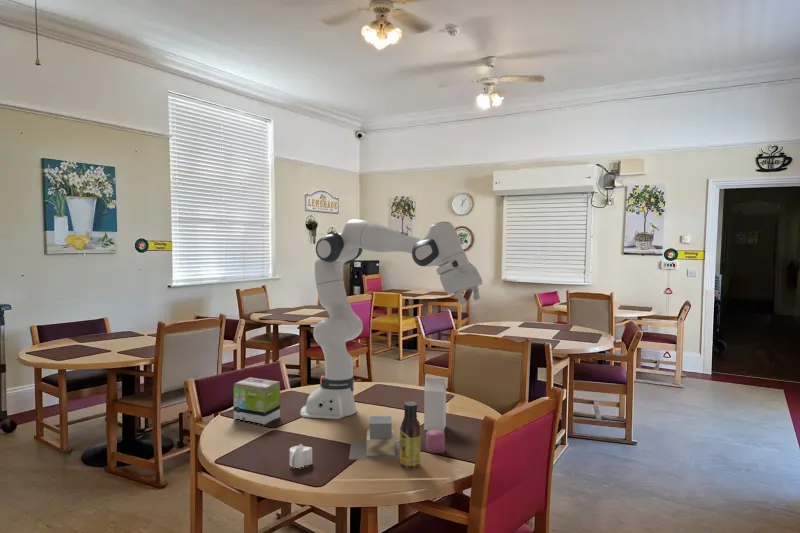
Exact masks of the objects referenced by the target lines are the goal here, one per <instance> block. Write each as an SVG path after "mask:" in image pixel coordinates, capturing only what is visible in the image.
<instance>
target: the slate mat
mask: <svg viewBox="0 0 800 533" xmlns="http://www.w3.org/2000/svg"><path fill="white" fill-rule="evenodd" d="M348 460H400V440H397V441H396V440H395V455H390V456H366V441H351V442H350V450H349V455H348Z"/></svg>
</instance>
